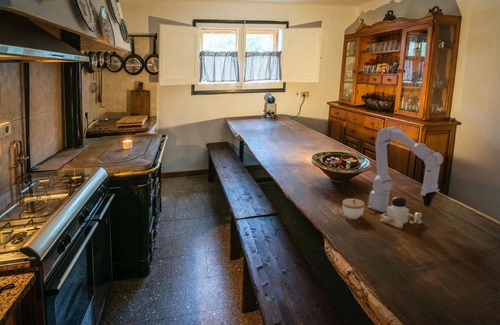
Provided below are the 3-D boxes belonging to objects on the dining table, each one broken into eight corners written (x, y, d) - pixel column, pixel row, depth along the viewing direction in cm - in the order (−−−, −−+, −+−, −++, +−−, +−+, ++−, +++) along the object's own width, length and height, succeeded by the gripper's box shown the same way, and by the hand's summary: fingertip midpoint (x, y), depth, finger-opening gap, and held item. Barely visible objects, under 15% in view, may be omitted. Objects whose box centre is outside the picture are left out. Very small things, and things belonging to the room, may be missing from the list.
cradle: (379, 220, 170) (380, 215, 170) (391, 214, 178) (392, 208, 177) (401, 228, 162) (402, 222, 162) (413, 220, 170) (413, 215, 169)
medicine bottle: (407, 222, 168) (410, 199, 165) (396, 225, 166) (399, 202, 162) (396, 216, 175) (399, 194, 171) (385, 219, 172) (388, 196, 169)
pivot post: (410, 221, 169) (411, 217, 169) (414, 219, 172) (415, 214, 171) (419, 224, 166) (420, 220, 166) (423, 221, 169) (424, 217, 168)
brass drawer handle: (415, 214, 170) (416, 209, 170) (422, 216, 169) (423, 210, 168) (407, 222, 162) (408, 217, 161) (414, 224, 160) (415, 218, 159)
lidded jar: (337, 216, 175) (338, 199, 173) (348, 210, 183) (349, 193, 180) (356, 223, 168) (358, 205, 166) (367, 216, 175) (369, 199, 173)
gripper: (433, 184, 152) (429, 212, 156) (446, 177, 161) (441, 204, 165) (417, 180, 157) (413, 208, 161) (430, 173, 166) (426, 200, 170)
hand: (426, 205), depth 163 cm, fingers closed
